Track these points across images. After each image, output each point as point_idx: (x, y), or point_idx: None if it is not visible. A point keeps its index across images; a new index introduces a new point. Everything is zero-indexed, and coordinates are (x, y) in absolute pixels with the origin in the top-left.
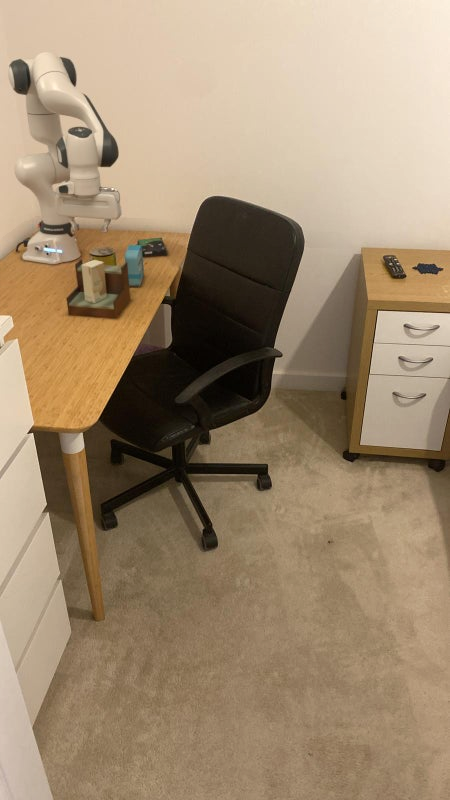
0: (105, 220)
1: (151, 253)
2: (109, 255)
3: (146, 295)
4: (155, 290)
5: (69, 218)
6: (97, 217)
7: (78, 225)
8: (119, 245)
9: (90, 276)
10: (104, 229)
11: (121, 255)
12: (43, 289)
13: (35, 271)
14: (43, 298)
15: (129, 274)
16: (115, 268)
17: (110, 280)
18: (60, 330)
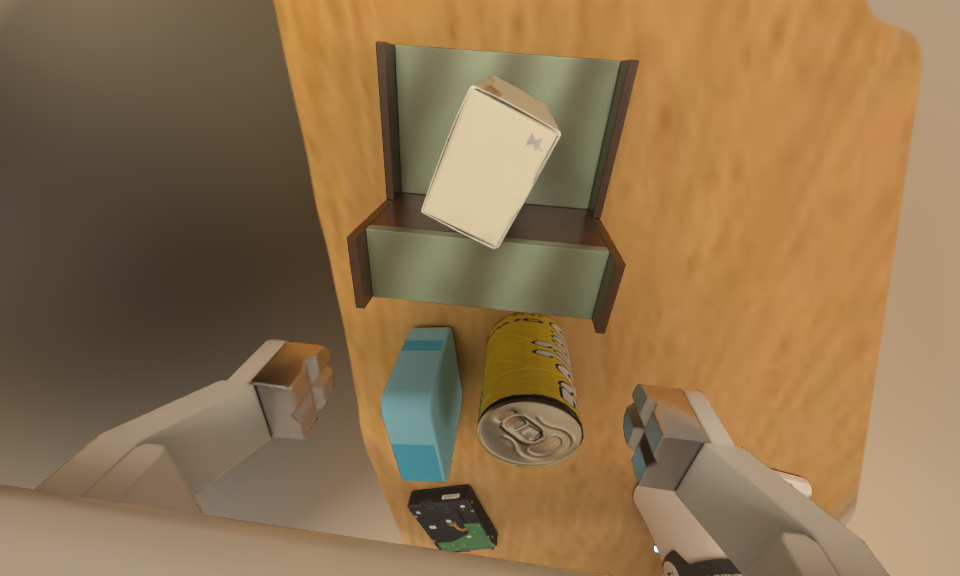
0: (119, 474)
1: (444, 494)
2: (490, 406)
3: None
4: (359, 308)
5: (858, 570)
6: (177, 537)
7: (640, 460)
8: (541, 534)
9: (492, 85)
10: (267, 365)
11: (524, 494)
12: (738, 297)
13: (766, 416)
14: (737, 223)
15: (431, 350)
16: (411, 270)
17: None
18: None
